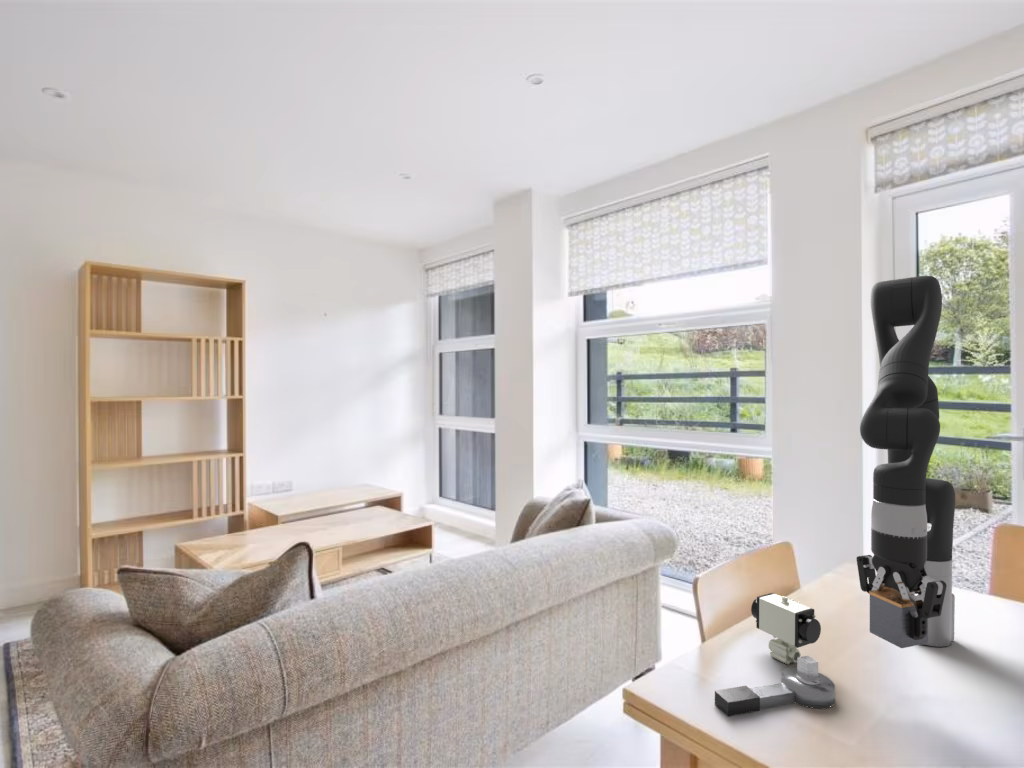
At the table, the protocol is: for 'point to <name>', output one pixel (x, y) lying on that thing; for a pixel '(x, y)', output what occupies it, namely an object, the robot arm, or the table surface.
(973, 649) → the table surface
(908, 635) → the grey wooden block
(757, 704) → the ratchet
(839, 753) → the table surface
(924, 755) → the table surface
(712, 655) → the table surface
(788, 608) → the pneumatic valve
